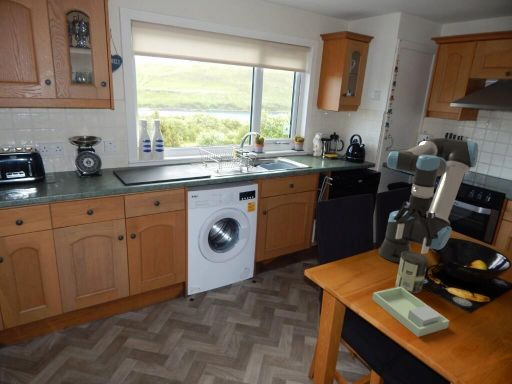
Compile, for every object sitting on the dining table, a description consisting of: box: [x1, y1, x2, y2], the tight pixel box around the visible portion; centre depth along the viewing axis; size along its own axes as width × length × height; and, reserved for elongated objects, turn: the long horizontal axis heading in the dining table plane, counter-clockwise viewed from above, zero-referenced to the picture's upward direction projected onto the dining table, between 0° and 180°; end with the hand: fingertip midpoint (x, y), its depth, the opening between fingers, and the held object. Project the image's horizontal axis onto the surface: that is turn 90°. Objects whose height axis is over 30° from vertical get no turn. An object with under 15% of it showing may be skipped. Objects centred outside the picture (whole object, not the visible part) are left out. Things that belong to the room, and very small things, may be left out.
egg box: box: [408, 306, 440, 328], centre depth 118 cm, size 8×6×4 cm
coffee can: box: [395, 251, 429, 294], centre depth 140 cm, size 10×10×14 cm
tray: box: [371, 286, 450, 338], centre depth 124 cm, size 14×22×4 cm, turn 23°
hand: (410, 245), depth 137 cm, fingers open, 13 cm apart
